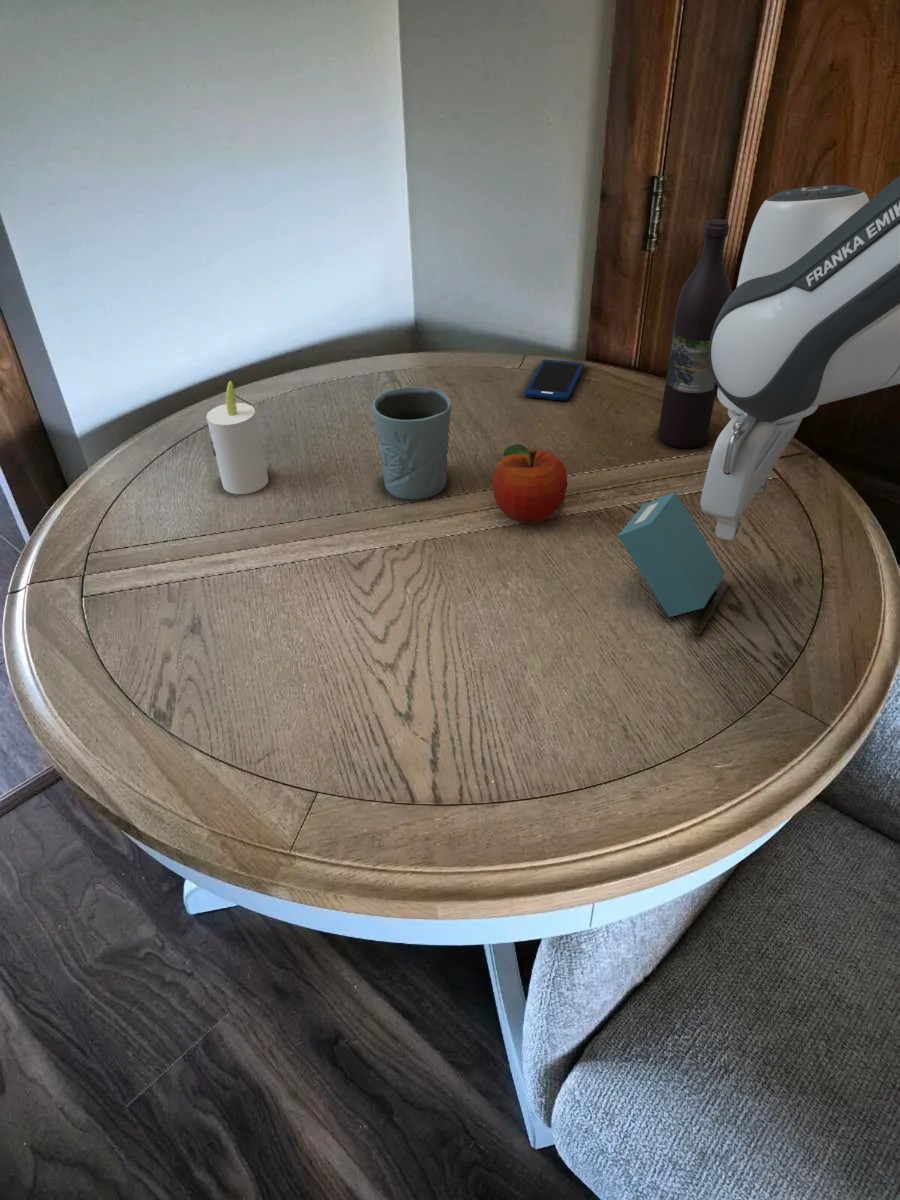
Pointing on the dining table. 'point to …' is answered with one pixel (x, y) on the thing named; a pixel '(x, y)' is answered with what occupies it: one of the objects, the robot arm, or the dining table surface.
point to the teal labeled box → (672, 555)
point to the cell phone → (554, 380)
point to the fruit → (529, 484)
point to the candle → (237, 445)
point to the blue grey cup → (413, 440)
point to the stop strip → (711, 609)
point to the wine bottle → (695, 346)
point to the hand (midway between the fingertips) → (741, 512)
